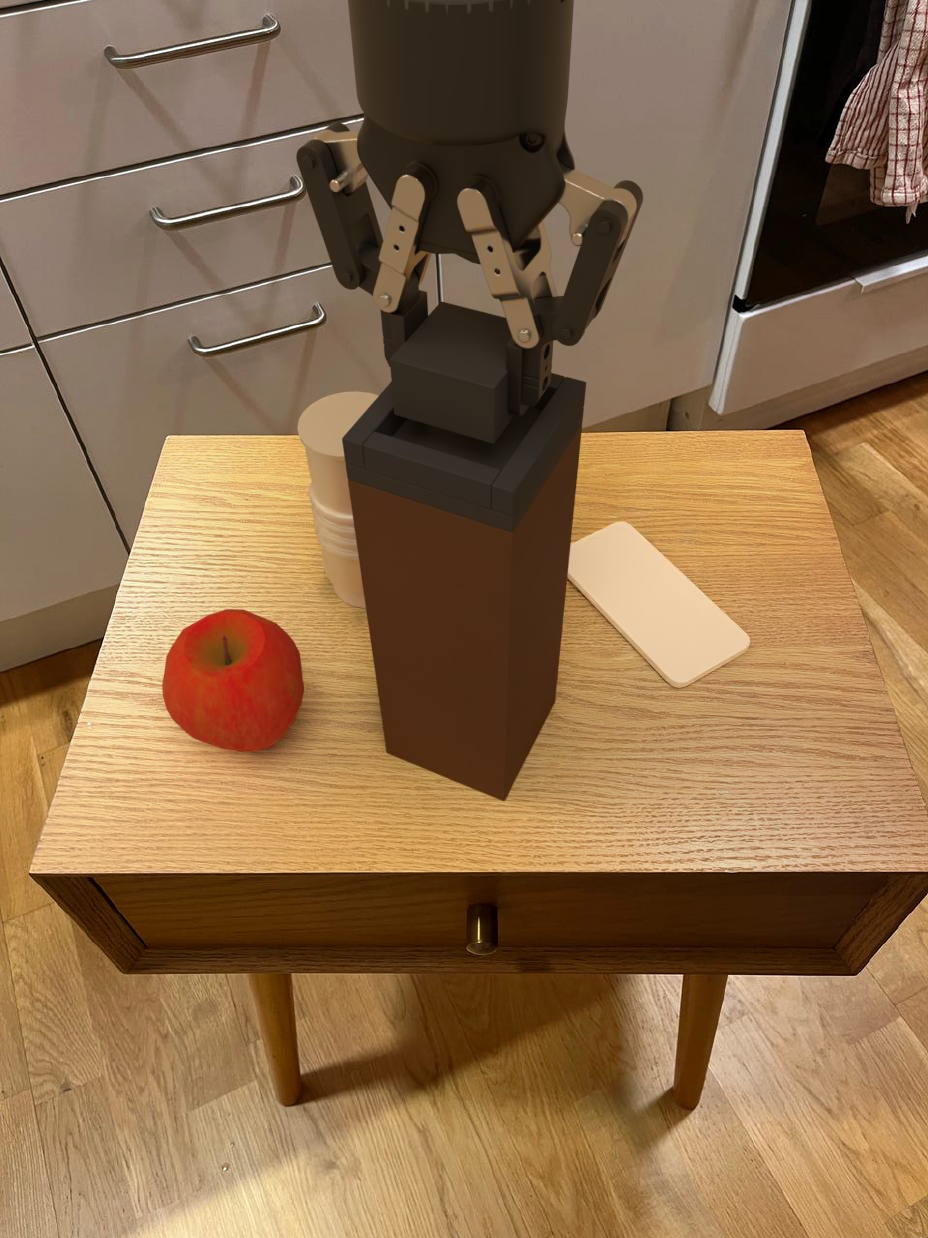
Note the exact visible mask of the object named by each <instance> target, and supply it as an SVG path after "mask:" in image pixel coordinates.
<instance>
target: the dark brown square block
mask: <svg viewBox="0 0 928 1238" xmlns="http://www.w3.org/2000/svg"><path fill="white" fill-rule="evenodd" d="M511 338H512V335H511V332H510V329H509V326H508V323H507V320H506V317H505V316H501V315H497V314H492V313H489V312H485V311H481V310H477V309H475V308H469V307H466V306H462V305H457V304H454V303H450V302H445V301H440V302H439V303H438V304H437V305H436V306H435V307H434V308H433V310H431V312H430V313H428V318H427V319H426V320H425V321H424V322H423V323H422V324H421V325H420V327H419V328H418V329H417V330H416V331H415V332H414V333H413V334H412V335H411V337H410V338H409V339H408V340H407V341H406V342H404V344H403V345H402V346H401V347H400V348H399V349H398V350H397V351H396V352H395V354H394V355H393V356H392V357H391V358H390V367H389V368H390V379H391V381H392V392H393V404H394V414H395V415H397V416H401V417H404V418H407V419H411V420H414V421H418V422H421V423H424V424H428V425H431V426H434V427H438V428H441V429H445V430H448V431H451V432H455V433H458V434H461V435H465V436H468V437H471V438H475V439H478V440H482V441H485V442H488V443H492V444H494V443H495V442H496V440H497V439H498V438H499V436H500V435H501V433H502V432H503V431H504V429H505V428H506V426H507V425H508V423H509V422H510V421H511V419H512V418H513V416H514V415H515V414H511V413H508V410H507V404H508V370H506V354H507V344H508V342H509V341H510V340H511Z"/></svg>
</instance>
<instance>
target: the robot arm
mask: <svg viewBox="0 0 928 1238" xmlns="http://www.w3.org/2000/svg"><path fill="white" fill-rule="evenodd" d="M574 4H575V0H347V6H348V16H349V17H348V19H349V26H350V27H349V28H350V38H351V50H352V59H353V71H354V80H355V90H356V98H357V99H356V100H357V102H358V105H359V108H360V109H361V111H362V112H363V120H362V124H361V126H360V128H359V129H357V130H351V129H350V128H348V126H347V125H345V124H344V123H343V122H340V121H334V122H332V123H331V124H329V125H328V126H326V127H325V128H324V129H323V130H322V131H320V132H319V133H318V134H316V135H315V136H314V137H312V138H311V139H309V140H308V141H307V142H306V143H304V144H303V145H302V146H300V147H299V148H298V149H297V151H296V155H295V157H296V159H295V160H296V163H297V166H298V169H299V171H300V175H301V179H302V180H303V184H304V187H305V190H306V193H307V195H308V199H309V202H310V205H311V207H312V210H313V213H314V216H315V220H316V222H317V225H318V228H319V231H320V234H321V237H322V240H323V243H324V246H325V249H326V251H327V254H328V258H329V260H330V263H331V267H332V270H333V272H334V275H335V278H336V280H337V282H338V283H339V284H340V285H341V286H342V287H343V288H345V289H347V290H350V291H354V290H356V289H357V288H360V289H362V290H363V291H364V292H366V293H368V294H370V295H371V296H372V298H373V301H374V304H375V305H376V306H377V308H378V309H380V322H381V331H382V342H383V343H382V344H383V353H384V358H385V360H386V363H387V364H388V368H390V358H391V357H392V356H393V355H394V354H395V352H396V351H397V350H398V349H399V348H400V347H401V346H402V345H403V344H404V342H406V341H407V340H408V339H409V338H410V337H411V335H412V334H413V333H414V332H415V331H416V330H417V329H418V328H419V327H420V325H421V324H422V323H423V322H424V321H425V320H426V319H427V318H428V316H429V303H428V291H425V290H421V289H420V285H421V284H422V283H423V281H424V279H425V276H426V271H427V270H428V266H429V263H430V261H431V257H432V254H434V255H449V254H450V255H451V254H452V255H456V256H458V257H460V258H462V259H464V260H466V261H468V262H470V263H472V264H477V265H480V266H481V269H482V272H483V274H484V275H483V276H484V279H485V281H486V284H487V287H488V290H489V293H490V295H491V297H492V298H493V299H496V300H499V302H500V304H501V308H502V310H503V313H504V317H505V318H506V320H507V323H508V326H509V329H510V332H511V335H512V338H511V340H510V341H509V342H508V344H507V354H506V370H508V404H507V410H508V413H511V414H515V415H519V416H523V415H524V413H525V412H526V410H527V409H528V408H529V406H531V407H534V406H535V405H536V404H537V402H538V401H539V399H540V398H541V396H542V395H543V394H544V392H545V391H546V389H547V387H548V386H549V384H550V382H551V373H553V372H552V369H553V353H554V341H557V342H558V343H559V344H561V345H563V346H566V347H573V346H575V345H577V344H578V343H579V342H580V341H581V340H582V338H583V337H584V335H585V332H586V330H587V328H588V327H589V326H590V324H591V323H592V321H593V320H594V319H595V318H596V317H597V316H598V315H599V313H600V312H601V310H602V308H603V306H604V303H605V301H606V298H607V295H608V293H609V290H610V288H611V285H612V282H613V280H614V278H615V276H616V275H615V274H616V272H617V269H618V268H619V264H620V262H621V259H622V257H623V254H624V251H625V249H626V246H627V243H628V242H629V238H630V236H631V233H632V232H633V228H634V226H635V223H636V220H637V217H638V215H639V212H640V210H641V208H642V205H643V203H644V193H643V190H642V189H641V187H640V185H638V184H637V183H636V182H634V181H632V180H628V179H623V180H621V181H619V182H617V183H616V184H615V186H613V187H612V186H610V185H608V184H606V183H603V182H601V181H599V180H598V179H595V178H593V177H590V176H589V175H587V174H585V173H582V172H581V171H579V170H577V169H576V162H575V159H574V156H573V154H572V151H571V149H570V146H569V143H568V139H567V135H566V115H567V110H568V109H567V108H568V100H569V85H570V72H571V71H570V69H571V54H572V38H573V37H572V36H573V24H574V23H573V21H574V6H575V5H574ZM368 176H369V177H370V179H371V181H372V182H373V184H374V185H375V187H376V189H377V191H378V192H379V193H380V195H381V197H382V198H383V199H384V201H385V203H386V204H387V206H388V207H389V209H390V215H389V218H388V222H387V226H386V229H385V232H384V237H383V234H382V230H381V227H380V224H379V221H378V216H377V213H376V210H375V207H374V202H373V201H372V197H371V194H370V190H369V186H368V183H367V180H368ZM558 204H559V205H561V206H562V207H563V208H564V209H565V210H566V212H567V214H568V217H569V225H568V232H569V235H570V241H571V243H572V244H573V245H574V246H575V247H579V249H578V252H577V255H576V258H575V261H574V264H573V267H572V270H571V273H570V275H569V278H568V281H567V284H566V287H565V290H564V293H563V295H559V294H558V290H557V287H556V284H555V281H554V278H553V273H552V270H551V262H552V248H551V244H550V241H549V240H550V239H549V237H548V233H547V231H546V226H545V223H544V220H545V218H546V217H547V216H548V215H549V214H550V213H551V212H552V211H553V210H554V208H555V207H556V206H557V205H558Z"/></svg>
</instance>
